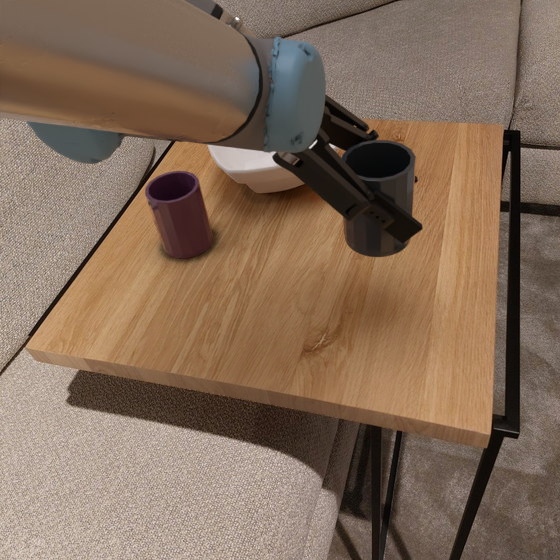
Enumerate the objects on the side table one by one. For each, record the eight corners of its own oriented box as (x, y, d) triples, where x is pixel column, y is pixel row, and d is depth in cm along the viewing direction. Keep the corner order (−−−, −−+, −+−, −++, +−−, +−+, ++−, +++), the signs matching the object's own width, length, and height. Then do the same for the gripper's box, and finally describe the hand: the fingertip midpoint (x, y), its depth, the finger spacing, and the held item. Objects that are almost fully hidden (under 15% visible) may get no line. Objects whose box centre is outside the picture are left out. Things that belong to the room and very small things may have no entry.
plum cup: (189, 265, 83) (172, 208, 76) (153, 248, 87) (133, 193, 80) (223, 235, 87) (209, 179, 80) (187, 220, 90) (171, 165, 84)
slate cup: (391, 265, 62) (392, 188, 55) (332, 244, 66) (326, 168, 59) (423, 226, 66) (428, 149, 59) (365, 208, 70) (364, 133, 63)
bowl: (359, 196, 90) (357, 147, 84) (227, 227, 88) (216, 180, 82) (322, 132, 105) (318, 86, 99) (209, 157, 103) (198, 113, 97)
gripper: (245, 100, 45) (446, 254, 53) (275, 2, 59) (430, 136, 68) (194, 162, 49) (387, 295, 58) (233, 57, 64) (383, 176, 72)
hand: (410, 209), depth 63 cm, fingers closed on slate cup, 7 cm apart
